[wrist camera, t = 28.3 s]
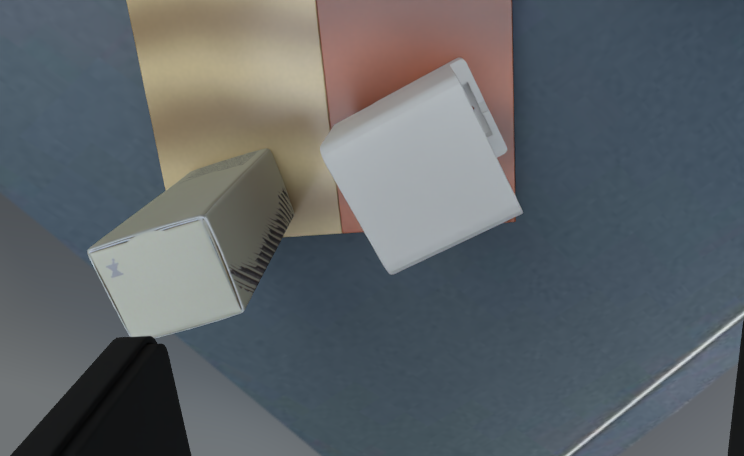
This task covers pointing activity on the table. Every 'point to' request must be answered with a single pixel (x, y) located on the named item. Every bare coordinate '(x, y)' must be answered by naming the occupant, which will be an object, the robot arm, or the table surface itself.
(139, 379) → the robot arm
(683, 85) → the table surface
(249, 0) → the sorting board
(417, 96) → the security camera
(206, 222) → the box
